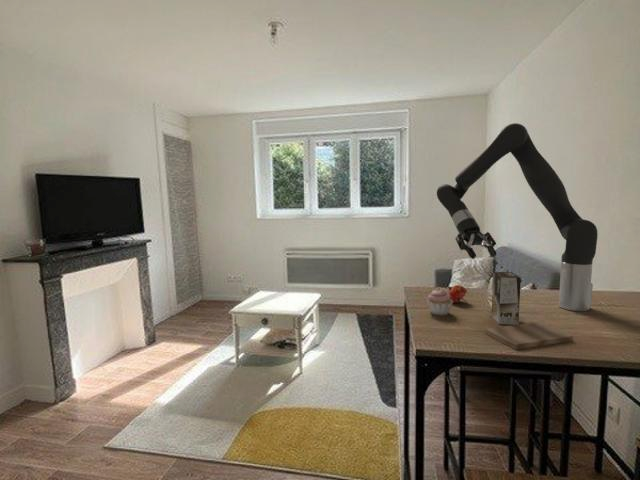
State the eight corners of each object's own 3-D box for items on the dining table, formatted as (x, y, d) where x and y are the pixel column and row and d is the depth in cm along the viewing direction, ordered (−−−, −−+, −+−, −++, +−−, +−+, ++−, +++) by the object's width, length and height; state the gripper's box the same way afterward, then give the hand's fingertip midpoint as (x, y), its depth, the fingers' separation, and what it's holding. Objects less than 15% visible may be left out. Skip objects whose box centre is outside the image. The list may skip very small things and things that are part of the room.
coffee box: (519, 325, 115) (521, 277, 113) (498, 324, 116) (500, 277, 114) (510, 315, 124) (512, 271, 122) (490, 315, 125) (492, 271, 123)
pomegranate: (464, 305, 143) (445, 289, 147) (476, 293, 139) (455, 277, 143) (459, 312, 138) (439, 295, 141) (472, 300, 134) (450, 283, 137)
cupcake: (422, 309, 133) (422, 284, 132) (446, 308, 134) (446, 283, 132) (431, 318, 124) (432, 290, 123) (457, 316, 124) (458, 289, 123)
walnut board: (538, 326, 114) (538, 321, 114) (572, 340, 102) (573, 336, 102) (485, 333, 109) (485, 328, 109) (515, 349, 98) (515, 344, 97)
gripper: (453, 218, 133) (472, 252, 124) (485, 216, 137) (506, 249, 127) (445, 230, 139) (462, 264, 129) (476, 228, 142) (495, 261, 133)
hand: (484, 256), depth 128 cm, fingers open, 8 cm apart
